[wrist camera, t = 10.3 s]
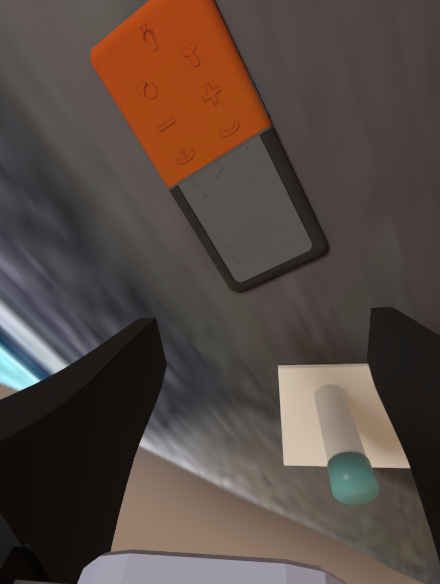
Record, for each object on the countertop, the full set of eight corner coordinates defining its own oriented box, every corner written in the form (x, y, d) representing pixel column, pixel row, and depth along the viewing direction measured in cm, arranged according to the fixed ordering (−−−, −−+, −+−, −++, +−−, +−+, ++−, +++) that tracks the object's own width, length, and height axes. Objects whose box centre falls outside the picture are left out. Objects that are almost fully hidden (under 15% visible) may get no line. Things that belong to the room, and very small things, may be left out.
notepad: (499, 360, 22) (502, 363, 22) (469, 466, 26) (471, 469, 26) (278, 365, 24) (278, 368, 24) (283, 462, 29) (284, 465, 28)
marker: (346, 381, 24) (379, 475, 18) (347, 407, 25) (379, 504, 19) (311, 384, 24) (331, 477, 18) (313, 409, 25) (333, 505, 19)
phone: (193, -45, 14) (332, 253, 20) (198, -33, 16) (329, 245, 21) (80, 52, 17) (232, 299, 22) (92, 56, 18) (234, 289, 23)
